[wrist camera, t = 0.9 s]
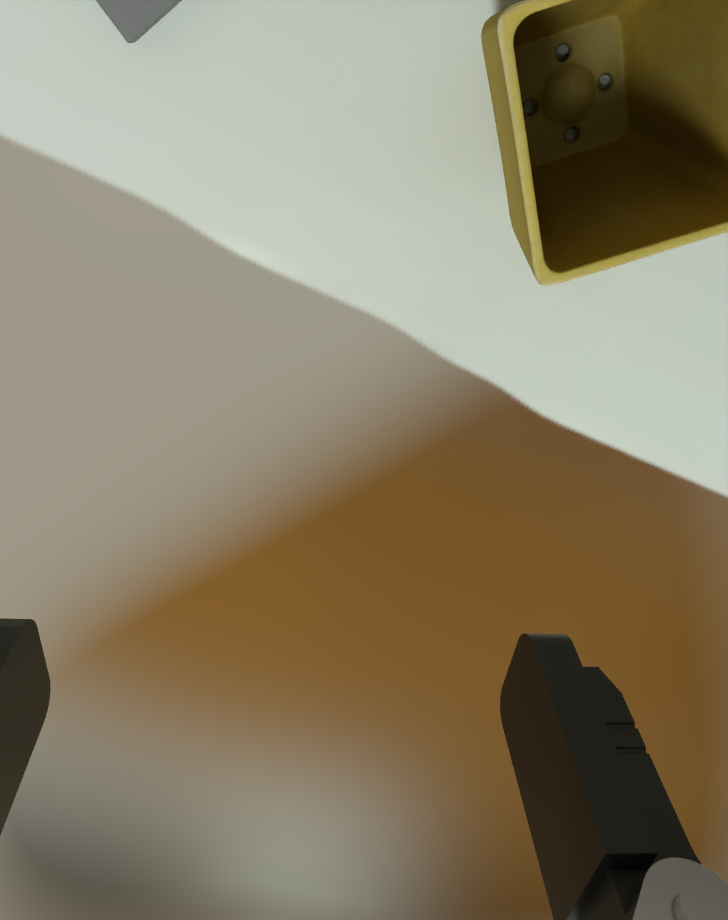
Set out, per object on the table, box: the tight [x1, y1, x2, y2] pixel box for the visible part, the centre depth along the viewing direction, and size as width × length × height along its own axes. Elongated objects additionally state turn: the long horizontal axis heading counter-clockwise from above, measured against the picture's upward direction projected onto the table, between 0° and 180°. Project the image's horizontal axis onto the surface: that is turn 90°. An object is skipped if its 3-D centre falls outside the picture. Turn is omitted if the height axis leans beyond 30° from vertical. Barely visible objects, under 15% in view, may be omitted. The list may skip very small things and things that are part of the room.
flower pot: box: [481, 0, 728, 285], centre depth 25 cm, size 9×9×9 cm
